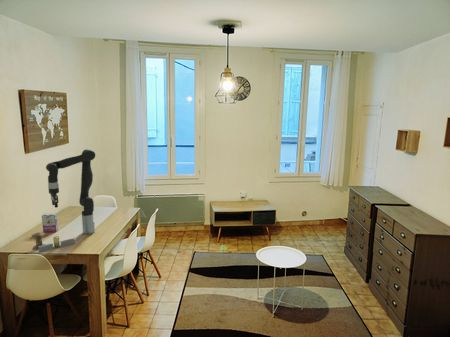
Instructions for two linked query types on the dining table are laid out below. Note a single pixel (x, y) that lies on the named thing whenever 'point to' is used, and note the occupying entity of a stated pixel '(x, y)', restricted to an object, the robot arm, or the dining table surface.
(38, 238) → the bobbin
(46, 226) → the candy bar box
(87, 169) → the robot arm
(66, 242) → the notch board
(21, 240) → the dining table surface
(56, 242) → the tab
